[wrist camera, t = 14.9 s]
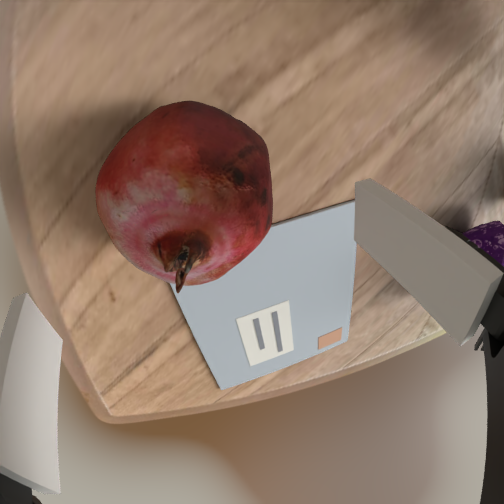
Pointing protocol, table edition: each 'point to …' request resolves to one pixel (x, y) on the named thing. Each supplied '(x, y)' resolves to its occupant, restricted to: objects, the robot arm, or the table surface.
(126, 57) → the table surface
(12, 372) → the robot arm
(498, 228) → the decorative mushroom
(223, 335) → the letter
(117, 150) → the fruit
